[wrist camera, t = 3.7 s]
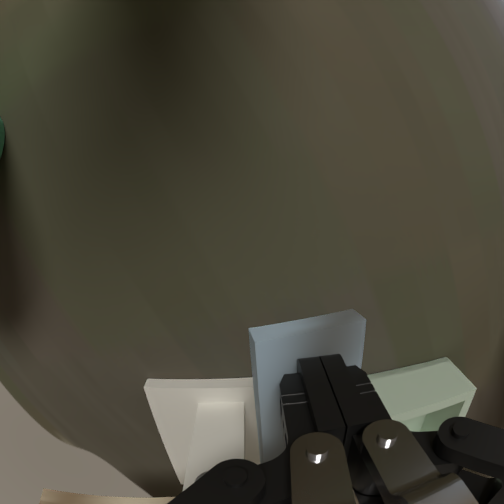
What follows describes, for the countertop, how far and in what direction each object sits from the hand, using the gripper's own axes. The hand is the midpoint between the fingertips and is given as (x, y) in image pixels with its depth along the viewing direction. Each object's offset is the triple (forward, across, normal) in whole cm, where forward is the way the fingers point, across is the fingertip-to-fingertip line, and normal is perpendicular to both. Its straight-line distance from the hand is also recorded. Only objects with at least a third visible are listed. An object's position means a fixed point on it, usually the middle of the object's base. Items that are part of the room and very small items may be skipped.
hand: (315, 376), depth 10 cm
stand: (+8, +4, +12) cm, 15 cm away
